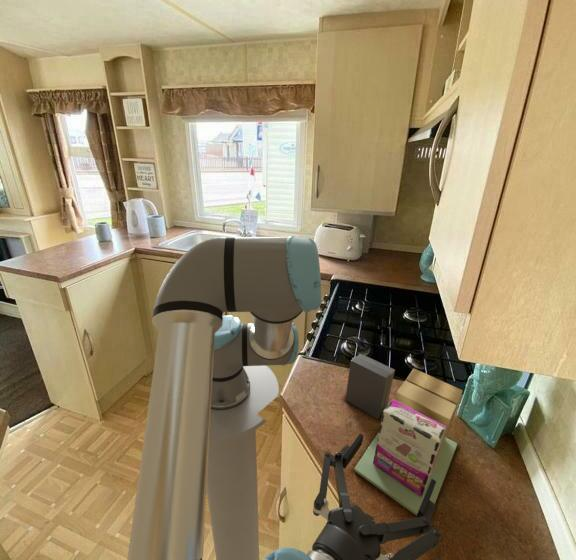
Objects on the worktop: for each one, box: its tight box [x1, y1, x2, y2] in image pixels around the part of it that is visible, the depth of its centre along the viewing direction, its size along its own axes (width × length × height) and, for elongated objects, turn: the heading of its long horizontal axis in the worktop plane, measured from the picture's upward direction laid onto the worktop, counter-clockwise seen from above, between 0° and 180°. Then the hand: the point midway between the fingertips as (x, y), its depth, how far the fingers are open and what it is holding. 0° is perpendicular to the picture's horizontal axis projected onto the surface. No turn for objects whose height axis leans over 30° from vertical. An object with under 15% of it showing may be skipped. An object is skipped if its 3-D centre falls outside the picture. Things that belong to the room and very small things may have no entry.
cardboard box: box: [394, 368, 464, 471], centre depth 73 cm, size 11×10×16 cm
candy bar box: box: [373, 398, 446, 497], centre depth 65 cm, size 11×5×16 cm, turn 50°
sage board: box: [353, 431, 458, 516], centre depth 73 cm, size 16×22×1 cm
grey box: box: [344, 353, 396, 420], centre depth 84 cm, size 10×6×14 cm, turn 50°
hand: (394, 460), depth 58 cm, fingers open, 13 cm apart
